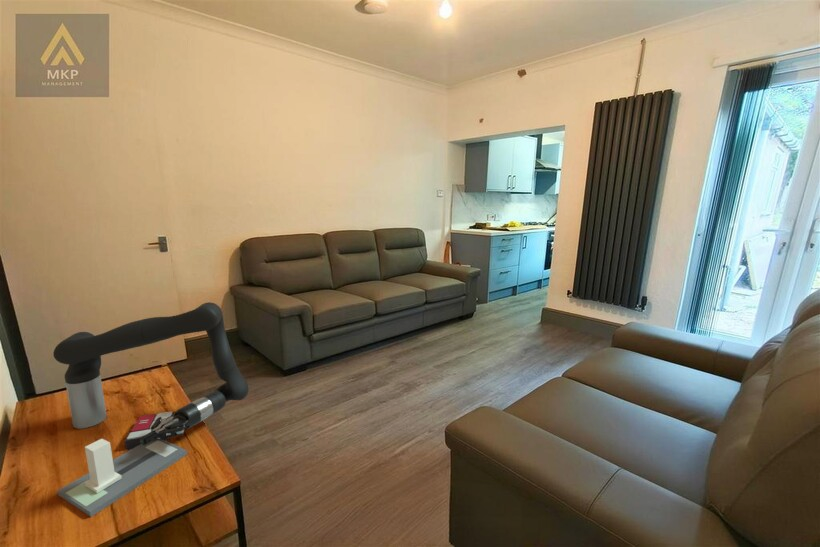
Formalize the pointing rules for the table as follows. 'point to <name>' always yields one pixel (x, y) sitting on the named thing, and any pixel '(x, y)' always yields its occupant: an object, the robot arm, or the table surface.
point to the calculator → (143, 428)
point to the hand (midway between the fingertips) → (141, 441)
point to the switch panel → (123, 475)
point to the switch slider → (100, 466)
